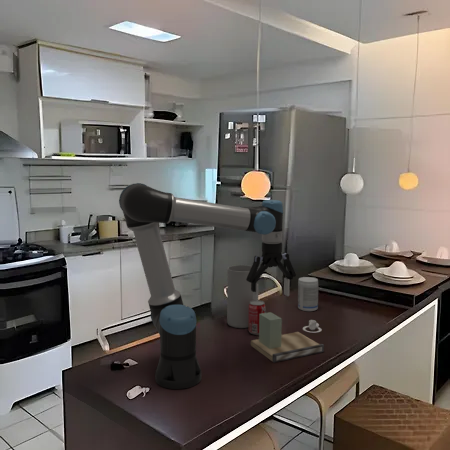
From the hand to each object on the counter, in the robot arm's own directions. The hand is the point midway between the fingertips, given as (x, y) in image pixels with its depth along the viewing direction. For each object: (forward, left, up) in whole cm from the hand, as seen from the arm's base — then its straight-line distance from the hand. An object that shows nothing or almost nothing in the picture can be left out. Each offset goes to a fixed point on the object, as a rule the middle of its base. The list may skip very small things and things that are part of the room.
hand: (271, 297), depth 177 cm
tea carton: (0, 0, -18) cm, 18 cm away
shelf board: (+6, -2, -20) cm, 21 cm away
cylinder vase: (+3, +29, -20) cm, 36 cm away
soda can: (+4, +17, -21) cm, 27 cm away
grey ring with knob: (+30, +9, -21) cm, 38 cm away
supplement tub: (+42, +34, -21) cm, 58 cm away
